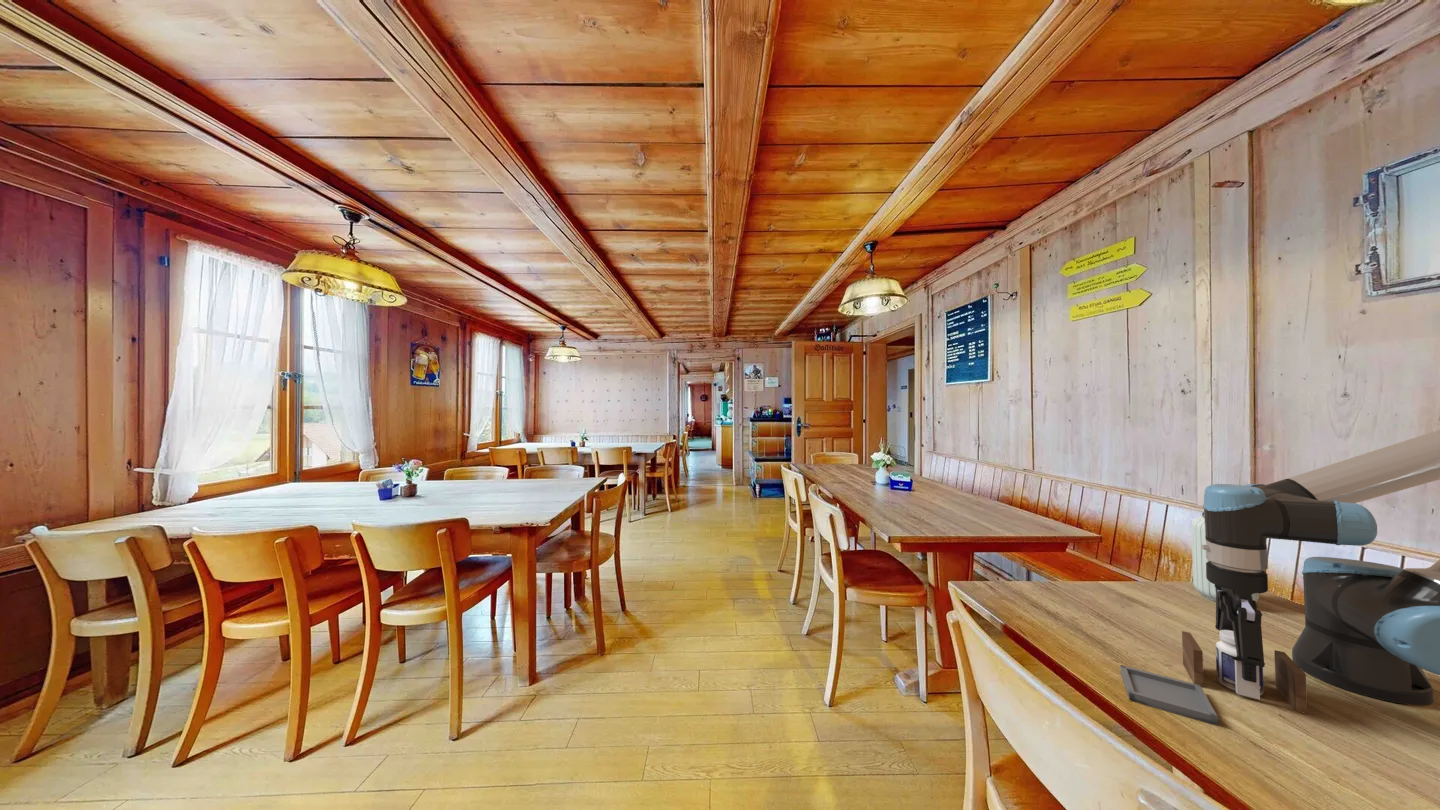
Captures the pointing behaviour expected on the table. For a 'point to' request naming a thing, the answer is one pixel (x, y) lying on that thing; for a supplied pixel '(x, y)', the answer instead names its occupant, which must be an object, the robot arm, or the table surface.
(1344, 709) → the table surface
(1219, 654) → the pill bottle
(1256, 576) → the robot arm
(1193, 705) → the tray
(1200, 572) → the vase
